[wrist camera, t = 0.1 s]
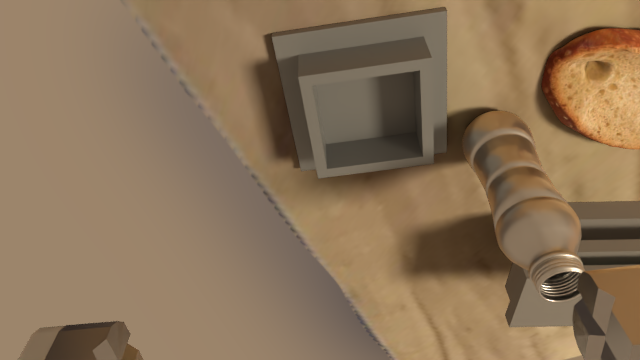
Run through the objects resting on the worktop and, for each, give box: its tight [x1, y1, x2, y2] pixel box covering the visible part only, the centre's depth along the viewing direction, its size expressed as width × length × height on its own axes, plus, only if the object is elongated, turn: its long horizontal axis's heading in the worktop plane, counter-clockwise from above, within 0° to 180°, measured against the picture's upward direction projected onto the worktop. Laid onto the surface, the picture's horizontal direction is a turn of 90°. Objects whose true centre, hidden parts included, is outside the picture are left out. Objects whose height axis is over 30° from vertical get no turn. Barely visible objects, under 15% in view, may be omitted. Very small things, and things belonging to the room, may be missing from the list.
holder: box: [272, 7, 447, 179], centre depth 50 cm, size 15×15×5 cm
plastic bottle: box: [463, 111, 585, 302], centre depth 47 cm, size 6×7×20 cm
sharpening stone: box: [505, 201, 640, 327], centre depth 59 cm, size 25×8×11 cm, turn 90°
